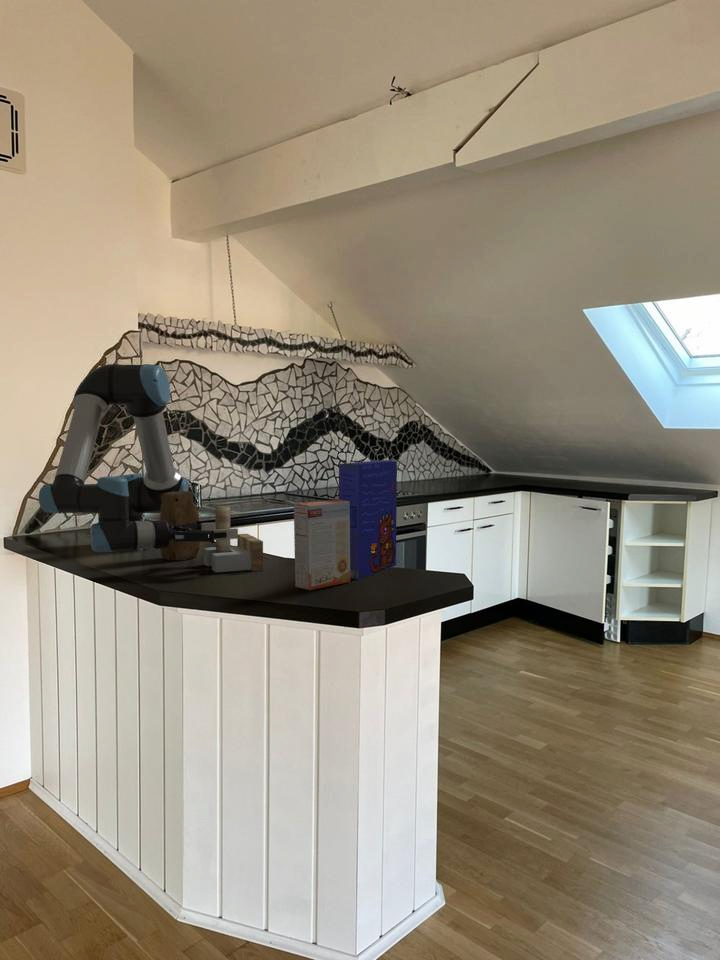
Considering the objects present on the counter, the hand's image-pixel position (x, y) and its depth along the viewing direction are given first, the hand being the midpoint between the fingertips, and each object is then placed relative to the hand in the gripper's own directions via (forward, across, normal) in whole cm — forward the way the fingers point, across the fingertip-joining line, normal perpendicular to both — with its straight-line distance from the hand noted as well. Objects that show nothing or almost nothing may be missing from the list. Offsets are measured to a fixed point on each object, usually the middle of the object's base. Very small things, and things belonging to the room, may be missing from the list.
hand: (230, 530), depth 205 cm
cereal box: (+33, +20, -11) cm, 40 cm away
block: (-10, -19, -11) cm, 24 cm away
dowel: (-2, 0, -10) cm, 11 cm away
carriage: (-1, 0, -10) cm, 11 cm away
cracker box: (+15, +31, -11) cm, 36 cm away
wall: (+5, 0, -10) cm, 12 cm away
